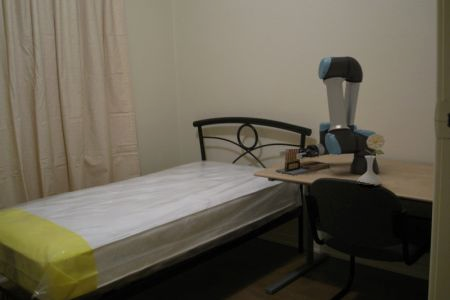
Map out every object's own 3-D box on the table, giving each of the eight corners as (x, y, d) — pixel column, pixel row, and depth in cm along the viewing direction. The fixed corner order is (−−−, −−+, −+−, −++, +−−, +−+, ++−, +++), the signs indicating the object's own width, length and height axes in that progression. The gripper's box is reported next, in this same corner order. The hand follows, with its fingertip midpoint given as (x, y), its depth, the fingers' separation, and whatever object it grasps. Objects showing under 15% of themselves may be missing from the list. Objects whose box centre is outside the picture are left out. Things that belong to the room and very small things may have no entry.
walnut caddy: (329, 167, 246) (329, 163, 245) (310, 171, 237) (310, 167, 236) (311, 164, 257) (311, 160, 257) (292, 168, 248) (292, 164, 247)
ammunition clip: (298, 168, 242) (297, 147, 240) (300, 169, 240) (300, 148, 238) (284, 171, 236) (284, 150, 234) (286, 171, 234) (286, 150, 232)
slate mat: (309, 172, 236) (309, 170, 236) (293, 175, 229) (293, 173, 229) (292, 168, 248) (292, 166, 247) (275, 171, 240) (275, 170, 240)
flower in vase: (352, 185, 203) (353, 133, 200) (365, 180, 211) (365, 131, 207) (377, 189, 194) (378, 135, 190) (390, 184, 201) (391, 132, 197)
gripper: (331, 159, 237) (304, 164, 225) (299, 154, 258) (273, 159, 245) (331, 146, 236) (304, 150, 224) (299, 142, 256) (273, 146, 244)
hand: (288, 155), depth 235 cm, fingers open, 13 cm apart
